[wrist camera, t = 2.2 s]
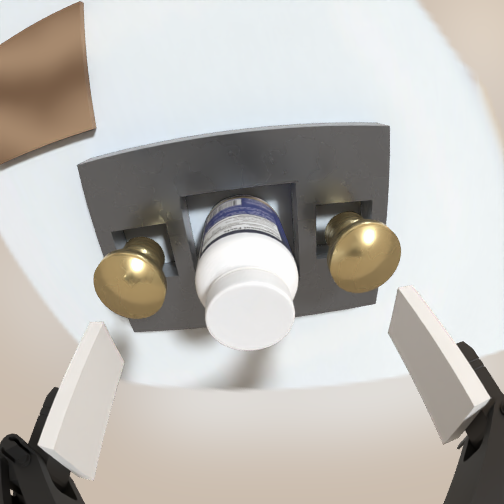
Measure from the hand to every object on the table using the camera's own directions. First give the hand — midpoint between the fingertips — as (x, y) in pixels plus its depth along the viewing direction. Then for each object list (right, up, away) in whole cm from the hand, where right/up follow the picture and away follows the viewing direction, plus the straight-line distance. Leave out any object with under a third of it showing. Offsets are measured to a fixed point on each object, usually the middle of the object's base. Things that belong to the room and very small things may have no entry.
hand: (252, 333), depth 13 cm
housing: (-1, +5, +9) cm, 10 cm away
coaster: (-16, +16, +2) cm, 22 cm away
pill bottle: (-1, +5, +9) cm, 11 cm away
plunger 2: (+6, +5, +7) cm, 10 cm away
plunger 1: (-7, +3, +7) cm, 10 cm away
